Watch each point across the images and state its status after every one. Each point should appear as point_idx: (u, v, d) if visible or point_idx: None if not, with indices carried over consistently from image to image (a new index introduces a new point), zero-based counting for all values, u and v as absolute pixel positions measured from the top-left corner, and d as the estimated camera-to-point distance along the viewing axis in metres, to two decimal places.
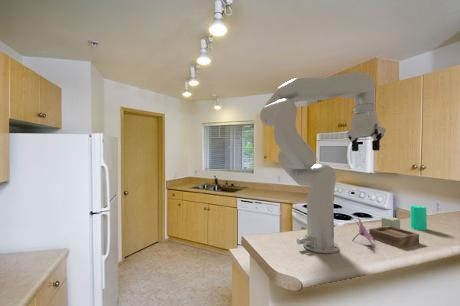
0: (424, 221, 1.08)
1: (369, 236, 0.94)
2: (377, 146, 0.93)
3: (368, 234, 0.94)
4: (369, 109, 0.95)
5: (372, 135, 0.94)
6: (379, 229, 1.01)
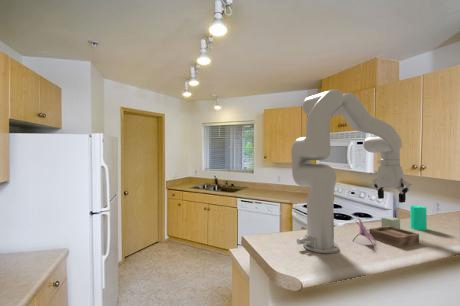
0: (424, 221, 1.08)
1: (369, 236, 0.94)
2: (403, 199, 1.02)
3: (368, 234, 0.94)
4: (395, 164, 1.04)
5: (398, 188, 1.03)
6: (379, 229, 1.01)
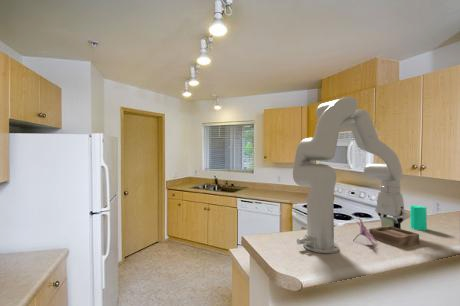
0: (424, 221, 1.08)
1: (370, 236, 0.94)
2: None
3: (369, 234, 0.94)
4: (395, 192, 1.04)
5: (395, 217, 1.04)
6: (379, 229, 1.01)
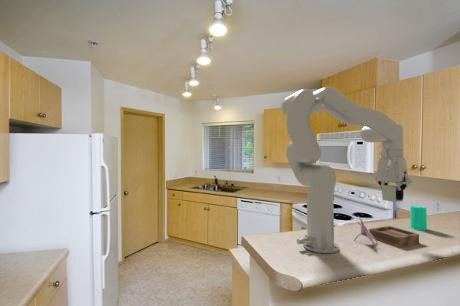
0: (424, 221, 1.08)
1: (371, 236, 0.94)
2: (401, 196, 0.93)
3: (370, 234, 0.95)
4: (398, 155, 0.93)
5: (398, 184, 0.93)
6: (379, 229, 1.01)
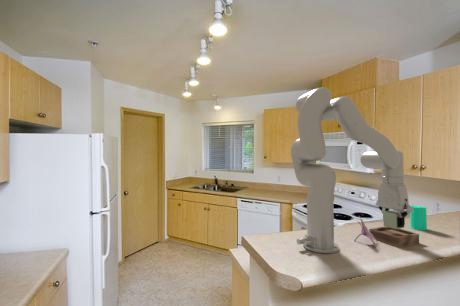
0: (424, 221, 1.08)
1: (371, 236, 0.94)
2: (402, 223, 0.93)
3: (370, 234, 0.95)
4: (398, 183, 0.93)
5: (398, 211, 0.93)
6: (379, 229, 1.01)
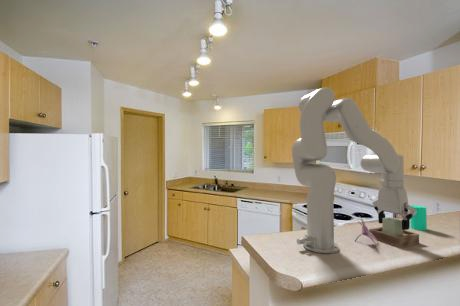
0: (424, 221, 1.08)
1: (372, 236, 0.94)
2: (407, 226, 0.91)
3: (371, 234, 0.95)
4: (398, 186, 0.93)
5: (402, 214, 0.92)
6: (379, 229, 1.01)
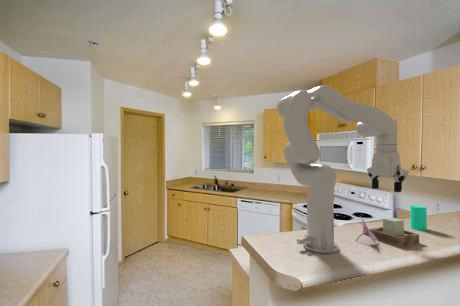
0: (424, 221, 1.08)
1: (373, 236, 0.94)
2: (399, 188, 0.92)
3: (371, 234, 0.95)
4: (391, 150, 0.94)
5: (394, 176, 0.93)
6: (379, 229, 1.01)
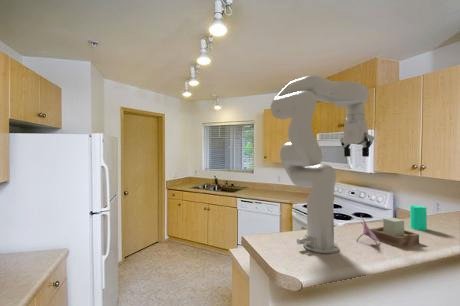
0: (424, 221, 1.08)
1: (373, 236, 0.94)
2: (366, 152, 1.02)
3: (372, 234, 0.95)
4: (359, 118, 1.04)
5: (362, 142, 1.03)
6: (379, 229, 1.01)
